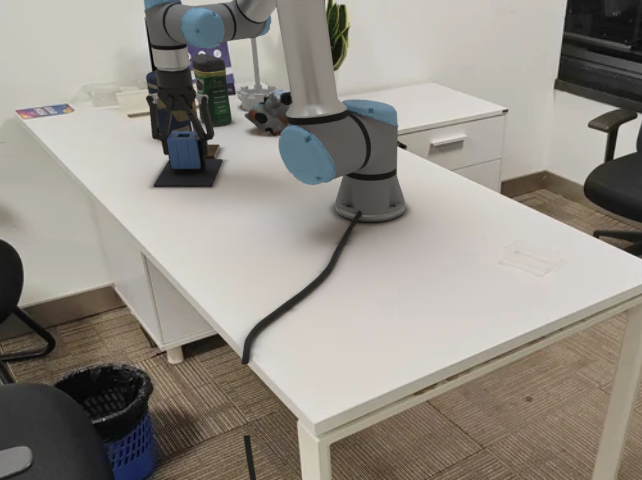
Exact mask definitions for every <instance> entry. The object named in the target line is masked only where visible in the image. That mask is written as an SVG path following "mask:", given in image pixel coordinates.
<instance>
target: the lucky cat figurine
mask: <svg viewBox="0 0 642 480" xmlns="http://www.w3.org/2000/svg"><path fill="white" fill-rule="evenodd" d="M291 105H292V98H291V92H290V89H285V88H284V89H279V90H276V91H274V92H272V93H271V94H270V95H269V96H268V95H265V96H264V102H260V103H258V104H256V105H254V106H253V107H252V108H251V109H250V111H248V112H246V113H244V117H245V119H247V120H248V122H251V123H252V124H253V125H254V126H255V127H256V128H258V129H260V130H261V131H263V132H265V133H270V135H272V136H279V135H280V134H281V132H282V131H283V130H284V129H285V128H286V127H288V123H287V117H286V112H287V111H288V110H289V108H290V107H291Z"/></svg>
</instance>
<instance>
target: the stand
mask: <svg viewBox="0 0 642 480" xmlns="http://www.w3.org/2000/svg"><path fill="white" fill-rule="evenodd" d="M192 105H193V107H194V110H195V113H196V115H197V117H198V109H197V104H196V99H195V100H194V101H193V103H192ZM198 118H199V117H198ZM191 126H192V131H195V129H194V127H193V125H192V124H191ZM208 149H209V152H208V155H205V159H217V156H218V154H219V152H220V149H221V145H220V144H219V143H218V144H216V143H215V144H213V143H211V144H209V143H208Z"/></svg>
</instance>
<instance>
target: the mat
mask: <svg viewBox="0 0 642 480" xmlns="http://www.w3.org/2000/svg"><path fill="white" fill-rule="evenodd" d="M222 163H223V158H216V159H206V168H205V170H202V169H201V167H200V169H192V168H191V169H174V170H171V168H170V162H169V160H168V161H166V164H165V166H164V167H163V169H162V171H161V172H160V174H159V175H158V177H157V179H156V180H155V182H154V183H153V188H212V187H213V185H214V182H215V181H216V179H217V175H218V173H219V171H220V168H221V166H222Z"/></svg>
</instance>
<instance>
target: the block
mask: <svg viewBox="0 0 642 480" xmlns="http://www.w3.org/2000/svg"><path fill="white" fill-rule="evenodd" d="M199 140H200V139H199V137H198V135H197V133H196V131H193V130H192V131H172V132H171V134H170V135H169V137H168V138H167V145H168V150H169V156H170V162H171V168H172V169H191V168H192V169H200V167H201V162H200V155H199V148H198V141H199Z"/></svg>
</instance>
